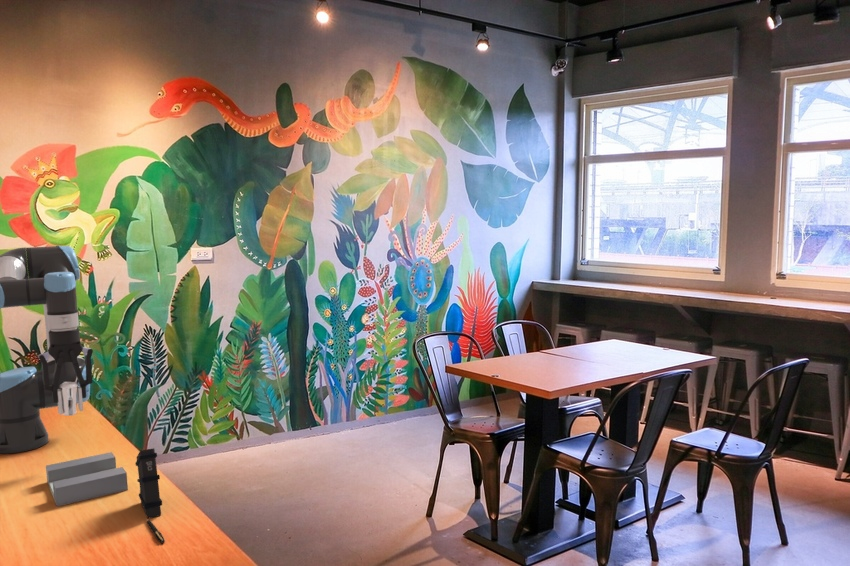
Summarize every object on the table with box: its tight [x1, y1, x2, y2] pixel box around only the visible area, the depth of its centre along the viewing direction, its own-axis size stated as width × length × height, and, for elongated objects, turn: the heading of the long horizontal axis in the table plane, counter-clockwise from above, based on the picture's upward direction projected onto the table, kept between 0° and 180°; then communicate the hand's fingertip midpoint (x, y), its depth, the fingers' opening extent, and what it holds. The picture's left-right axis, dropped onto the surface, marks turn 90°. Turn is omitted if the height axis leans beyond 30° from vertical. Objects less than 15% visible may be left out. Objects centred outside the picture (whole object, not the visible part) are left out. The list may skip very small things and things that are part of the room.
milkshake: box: [60, 378, 78, 417], centre depth 193 cm, size 4×5×10 cm
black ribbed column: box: [134, 447, 163, 519], centre depth 164 cm, size 4×13×15 cm, turn 29°
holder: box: [45, 451, 129, 507], centre depth 179 cm, size 19×16×4 cm
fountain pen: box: [146, 518, 166, 544], centre depth 152 cm, size 14×1×2 cm, turn 35°
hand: (70, 411), depth 194 cm, fingers closed on milkshake, 4 cm apart
